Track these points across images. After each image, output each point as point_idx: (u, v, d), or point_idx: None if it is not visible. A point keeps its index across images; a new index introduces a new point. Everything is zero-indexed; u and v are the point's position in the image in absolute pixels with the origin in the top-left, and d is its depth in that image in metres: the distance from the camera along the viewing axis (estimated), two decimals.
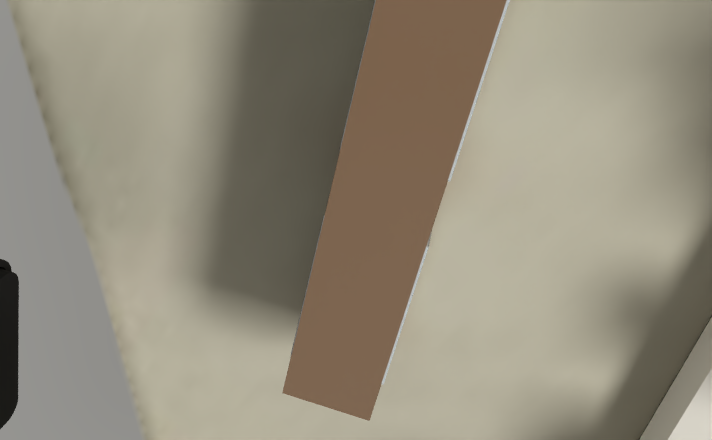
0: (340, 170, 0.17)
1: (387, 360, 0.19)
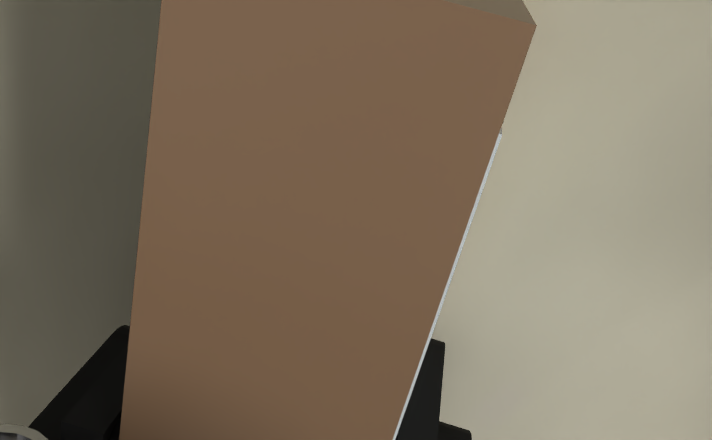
0: None
1: None
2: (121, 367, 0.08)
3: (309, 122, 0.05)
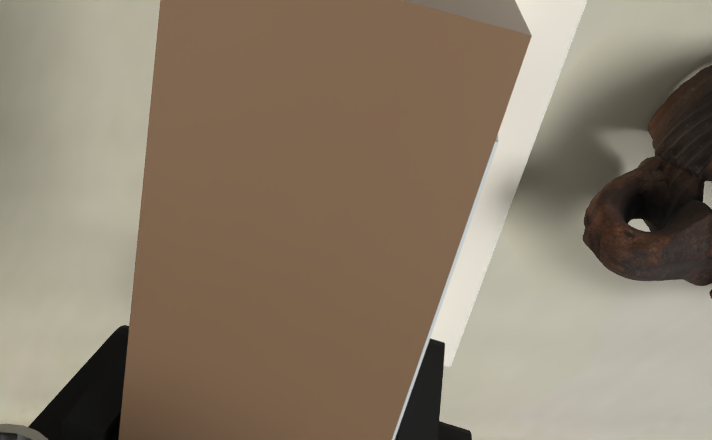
0: None
1: None
2: (121, 367, 0.08)
3: (306, 131, 0.05)
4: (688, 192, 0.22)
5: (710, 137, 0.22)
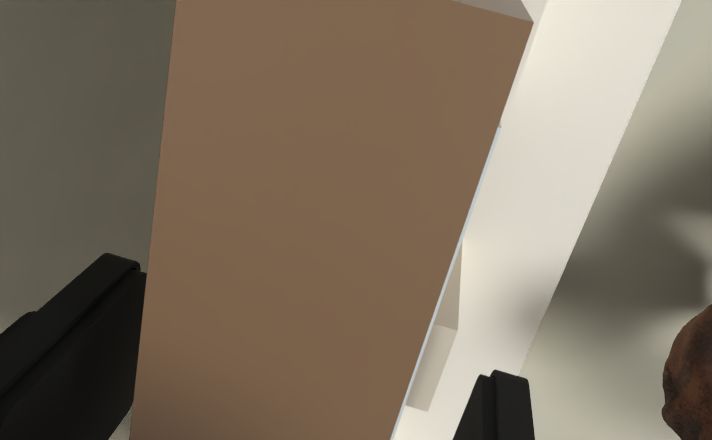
0: None
1: None
2: (6, 351, 0.08)
3: (317, 115, 0.06)
4: None
5: None
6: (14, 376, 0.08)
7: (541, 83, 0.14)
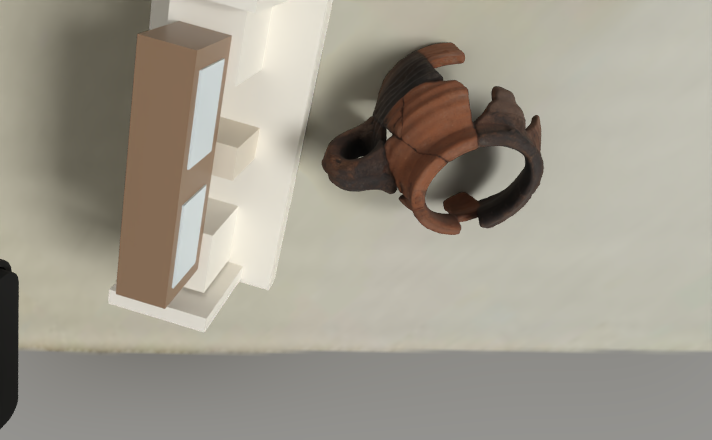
0: (129, 164, 0.32)
1: (169, 271, 0.34)
2: None
3: (163, 67, 0.29)
4: (378, 135, 0.36)
5: (388, 101, 0.35)
6: None
7: (279, 66, 0.38)
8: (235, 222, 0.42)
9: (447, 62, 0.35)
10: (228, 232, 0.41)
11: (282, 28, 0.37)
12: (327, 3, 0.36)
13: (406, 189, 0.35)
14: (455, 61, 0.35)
